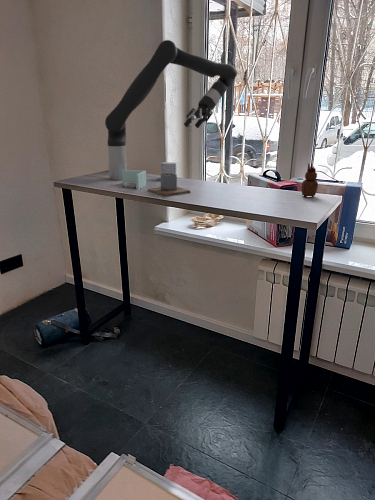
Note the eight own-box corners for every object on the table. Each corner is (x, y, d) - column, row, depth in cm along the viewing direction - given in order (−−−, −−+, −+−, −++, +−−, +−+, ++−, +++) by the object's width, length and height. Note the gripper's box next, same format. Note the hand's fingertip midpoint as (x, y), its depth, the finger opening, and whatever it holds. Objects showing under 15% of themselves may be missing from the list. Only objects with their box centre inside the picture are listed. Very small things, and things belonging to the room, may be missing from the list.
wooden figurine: (301, 197, 163) (305, 163, 158) (299, 195, 169) (303, 161, 163) (317, 198, 162) (322, 163, 157) (314, 195, 168) (319, 162, 162)
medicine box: (176, 178, 203) (176, 162, 199) (175, 180, 198) (175, 163, 195) (162, 178, 203) (162, 162, 200) (161, 179, 199) (160, 163, 196)
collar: (161, 189, 171) (160, 174, 168) (170, 188, 174) (170, 173, 171) (167, 191, 167) (167, 175, 165) (176, 190, 170) (176, 174, 168)
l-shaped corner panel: (123, 184, 188) (122, 169, 185) (146, 185, 186) (145, 170, 183) (114, 189, 177) (113, 173, 174) (138, 190, 175) (138, 174, 172)
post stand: (147, 191, 172) (147, 173, 169) (172, 187, 180) (172, 170, 177) (165, 196, 162) (165, 178, 159) (190, 192, 170) (190, 174, 167)
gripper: (196, 95, 182) (177, 120, 180) (215, 94, 172) (195, 121, 169) (204, 106, 187) (186, 131, 185) (223, 107, 177) (204, 132, 174)
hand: (190, 126), depth 177 cm, fingers open, 8 cm apart
